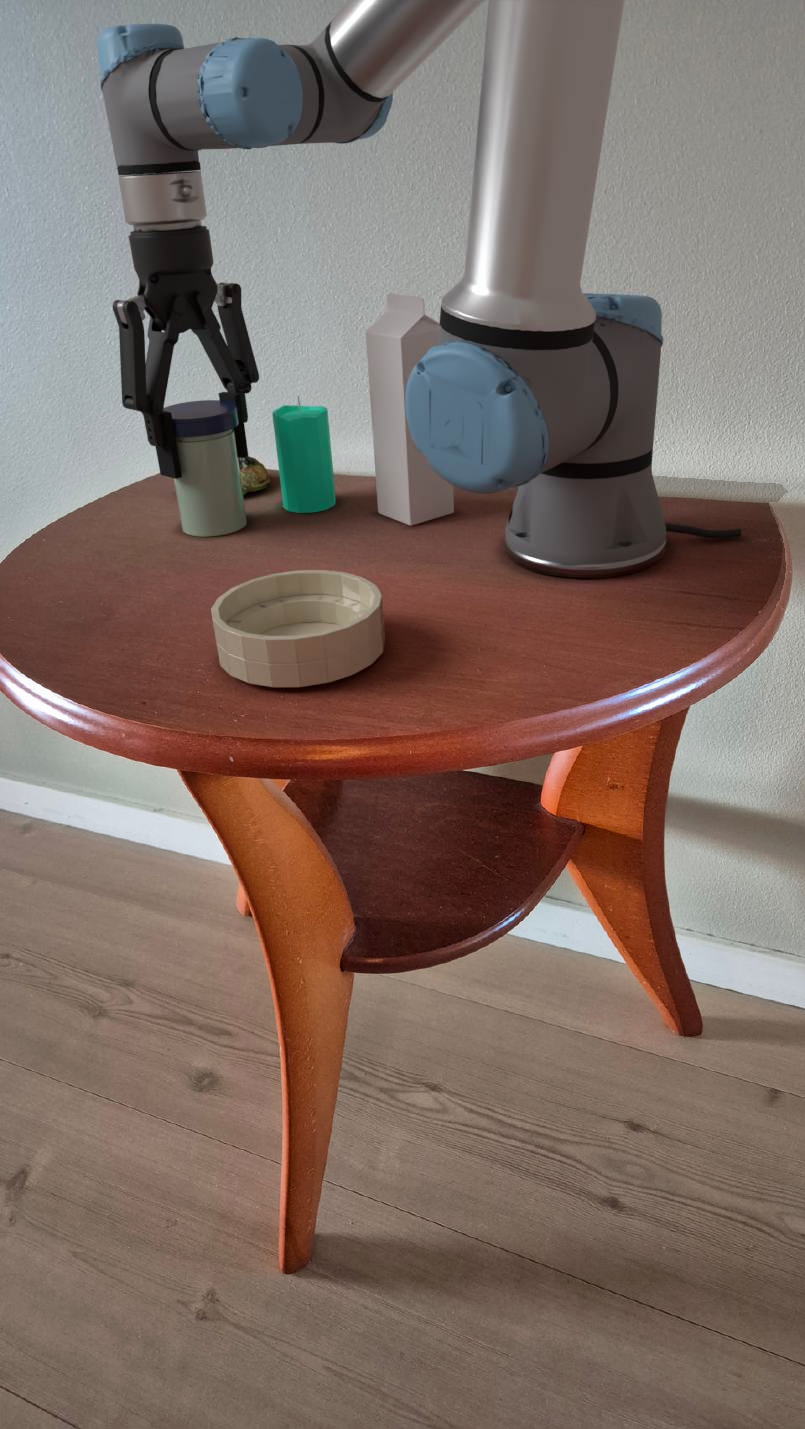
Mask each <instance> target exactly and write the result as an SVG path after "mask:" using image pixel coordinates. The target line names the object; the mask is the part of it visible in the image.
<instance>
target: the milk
mask: <svg viewBox="0 0 805 1429" xmlns="http://www.w3.org/2000/svg"><path fill="white" fill-rule="evenodd" d="M386 302H387V309H386V310H385V311H384V313H382V315H381V316H379V317H378V319H376V320H375V322H374V323H373V324H371V326H370V327H368V329H366V330H365V343H366V356H367V357H366V358H367V370H368V372H367V373H368V385H369V401H370V415H371V430H372V446H373V456H374V458H373V459H374V472H375V486H376V488H375V489H376V501H377V503H376V504H377V513H378V514H379V515H381V516H385V517H387V518H390V519H392V520H394V521H397V522H400V523H402V524H404V525H407V526H410V527H412V526H415V525H418V524H423V523H425V522H428V521H431V520H434V519H438V518H441V517H445V516H448V515H452V514H453V513H455V507H454V506H455V504H454V502H455V501H454V485H452V484H450V483H449V482H447V481H446V480H444V479H443V478H442V477H441V476H439V475H438V474H437V473H436V472H435V471H434V470H433V469H432V468H431V467H430V465H429V464H428V461H427V458H426V456H425V455H424V454H423V453H421V452H419V450H418V448H417V447H416V445H415V442H414V440H413V438H412V436H411V433H410V430H409V426H408V423H407V418H406V410H405V393H406V387H407V383H408V379H409V376H410V374H411V372H412V370H413V368H414V366H415V365H416V364H417V363H418V362H420V360H421V359H422V358H423V356H424V355H425V354H426V353H427V352H428V350H429V349H431V348H432V347H434V346H438V336H439V325H440V322H438V321H437V320H435V319H433V318H432V317H429V316H428V315H426V312H425V311H426V310H425V300H424V298H423V297H422V296H413V295H404V294H396V293H388V294H387V295H386Z"/></svg>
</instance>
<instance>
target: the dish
mask: <svg viewBox="0 0 805 1429" xmlns="http://www.w3.org/2000/svg"><path fill="white" fill-rule="evenodd" d="M383 602H384V601H383V594H382V592H381V591H380V589H379V587H378V586H377V585H376V584H374V583H373V582H372V581H370V580H368V579H367V578H365V577H363V576H359V575H356V574H352V573H348V572H345V571H336V570H326V569H300V570H291V571H284V572H283V571H282V572H276V573H271V574H267V575H262V576H259V577H256V578H252V579H249V580H247V581H245V582H242V583H240V584H238V585H235V586H233V587H231V588H230V589H228V590H226V591H225V592H224V593H222V594H221V595H220V596H218V597H217V598H216V600H215V602H214V604H213V605H212V607H211V608H210V612H211V619H212V625H213V631H214V638H215V643H216V649H217V655H218V661H219V666H220V667H221V668H222V669H223V670H224V671H225V672H226V673H227V674H228V675H229V676H230V677H233V678H235V679H237V680H240V681H243V682H245V683H247V684H249V685H250V684H251V685H256V686H262V687H268V688H304V687H310V686H317V685H322V684H328V683H332V682H335V681H339V680H341V679H345V678H348V677H351V676H353V675H355V674H357V673H359V672H361V671H362V670H364V669H366V668H368V667H370V666H372V665H373V664H374V663H375V662H376V660H378V658H379V657H380V656H381V655H382V654H383V652H384V649H385V648H384V647H385V643H386V633H385V621H384V620H385V619H384V618H385V616H384V603H383Z"/></svg>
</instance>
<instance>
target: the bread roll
mask: <svg viewBox="0 0 805 1429" xmlns="http://www.w3.org/2000/svg"><path fill="white" fill-rule="evenodd" d="M238 461H239V468H240V476H241V483H242V490H243V496H245V495H246V494H248V493H249V492H257V491H260V490H264V489H266V488H267V486H268V484H269V483H270V482H271V481H270V478H271V477H270V475H269V473H268V470H267V467H265V465H264V464H263V463H262V462H260V461H259V460H258V459H257V458H255V457H251V456H249V455H248V457H245V458H240V457H238Z"/></svg>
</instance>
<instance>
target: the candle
mask: <svg viewBox="0 0 805 1429" xmlns="http://www.w3.org/2000/svg"><path fill="white" fill-rule="evenodd" d="M297 404H298V405H294V404H293V405H292V404H291V405H290V404H286V405H285V404H284V405H280V406H279V407H278V408H276V409H274V410H273V412H272V414H271V415H272V422H273V432H274V440H275V448H276V457H277V465H278V474H279V482H280V490H281V498H282V508H283V509H285V510H286V511H288V512H292V513H296V514H307V513H308V514H309V513H310V514H311V513H317V512H323V511H327V510H329V509H331V508H332V507H335V506H336V502H337V499H336V486H335V477H334V465H333V456H332V444H331V443H332V442H331V432H330V422H329V411H328V408H327V407H326V406H322V405H316V406H315V405H312V406H311V405H310V406H309V405H301V402H300V395H297Z"/></svg>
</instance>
